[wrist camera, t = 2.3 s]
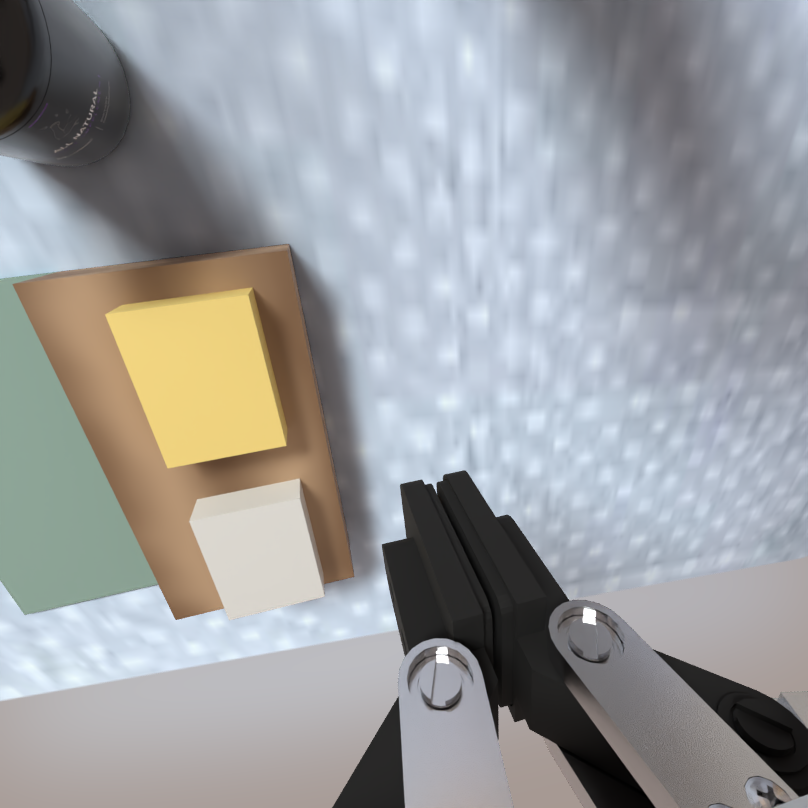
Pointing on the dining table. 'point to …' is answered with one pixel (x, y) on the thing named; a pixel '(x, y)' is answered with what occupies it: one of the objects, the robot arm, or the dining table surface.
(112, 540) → the mat
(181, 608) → the board
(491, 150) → the dining table surface
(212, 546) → the white flat block
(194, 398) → the yellow rectangular block
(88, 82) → the supplement bottle
